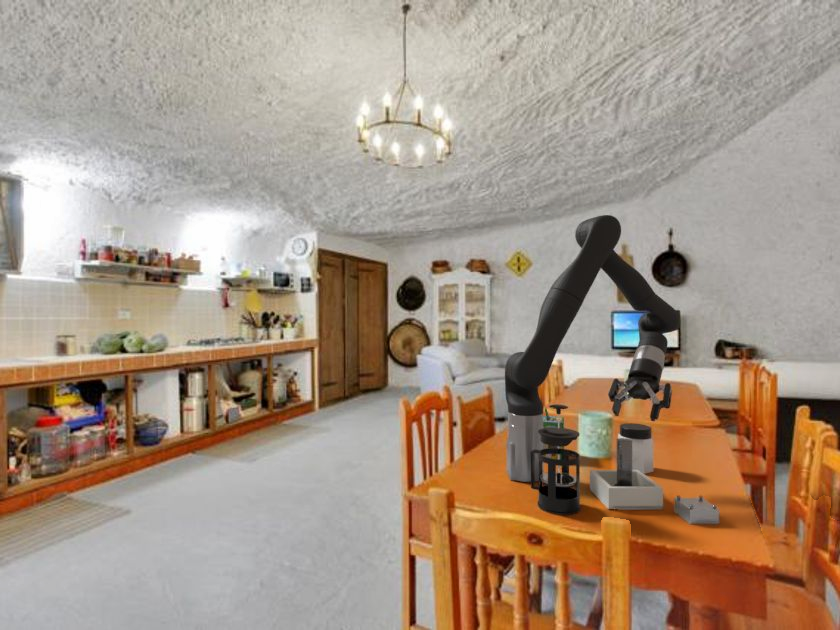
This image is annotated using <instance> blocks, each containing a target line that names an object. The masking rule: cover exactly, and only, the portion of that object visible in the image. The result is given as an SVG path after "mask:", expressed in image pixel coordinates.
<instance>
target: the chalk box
mask: <svg viewBox="0 0 840 630" xmlns="http://www.w3.org/2000/svg"><path fill="white" fill-rule="evenodd" d="M544 413H545V415H543V428H558V416H552V415H550V414H549V412H548V409H547V407H546V406H544ZM559 428H565V418H564V416H563V417H562V416H559ZM546 448H558V446H551V445H547V444H544V443H543V449H546ZM560 448H561V449H565V446H564V447H560ZM543 456H544V457H547V458H552V459H558V454H545V455H543ZM560 460H562V454H560Z"/></svg>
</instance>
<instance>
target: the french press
mask: <svg viewBox="0 0 840 630" xmlns="http://www.w3.org/2000/svg"><path fill="white" fill-rule="evenodd" d="M548 407H549V408H550V409H555V410H556V415H557V417H558V428H543V429H540V430H539V431H538V433H539V434H540V441H541V442H542V443H544V444H547V445H551V446H558V448H546V449H542V450H535V449H534V450H532V451H531V482H530V488H531V490H535V491H538V500H537V506H538V508H539V509H540V510H542V511H544V512H545V513H549V514H552V515H557V516H558V515H559V516H572V515H577V514H579V512H580V511H581V510H582V506H581V504H580V502H581V497H580V496H581V495H580V493H581V492H580V487H581V485H580V477H581V476H580V473H581V472H580V466H581V465H580V459H581V458H580V453H578V452H577V451H574V450H571V449H567V448H565V447H567V446H569V445H570V444H571V443H572V442H573V441H576V440H577V439H578V438H579V437H580V432H579V431H577V430H574V429H570V428H566V427H564V428H559V417H560V415H561V414H562V413H561V412H562V410H566V409H569V406H568V405H565V404H559V403H558V404H555V403H554V404H550V405H548ZM560 447H564V449H561V448H560ZM535 453H538V458H539V481H538V485H536V482H535ZM545 454H558V459H552V458H547V457H544V456H542V455H545ZM560 454H562V460H560ZM570 457H572V458H571V459H570ZM542 462H543V464H547V472H543V474H542ZM570 466H575V468H576V469H575V471H576V472H575V476H574V475H573V474H570ZM556 467H557V468H556ZM560 468H561V471H560ZM556 469H557V470H556ZM543 484H544V485H543ZM573 487H576V489H575V488H573Z"/></svg>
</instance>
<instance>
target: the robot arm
mask: <svg viewBox="0 0 840 630" xmlns="http://www.w3.org/2000/svg"><path fill="white" fill-rule="evenodd" d="M621 235H622V226H621V223H620V221H619V219H618V218H617V217H616V216H613V215H611V214H603V215H597V216H595V217H591V218H588V219H585V220H583V221H581V222H580V223H579V224H578V225H577V227H576V229H575V236H574V237H575V240H576V243H577V244H578V246H579V247H580V248H581V249H580V251H579V253H578V254H577V256H576V257H575V259H574V260H573V261H572V262H571V263H570V264H569V265H568V266H567V267H566V268H565V269H564V271H563V272H562V273H560V275H559V276H558V277H557V278H556V280H555V281H554V282H553V283H552V285H551V286H550V289H549V291H548V292H547V294H546V296H545V298H544V300H543V302H542V304H541V307H540V311H539V316H538V321H537V327H536V330H535V332H534V335H533V337H532V338H531V340H530V342H529V343H528V346H527V347H526V349H525V350H524V351H518V352H514V353H513V354H511V355H509V357H508V359H507V360H506V363H505V366H504V367H505V368H504V389H505V401H506V404H507V438H506V474H507V476H508V478H509V480H511V481H518V482H523V483H531V451H532V450H534V449H535V450H542V449H543V443H542V442H541V441H540V434H539V433H538V431H539V430H540V429H543V416H544V403H543V402H542V400H541V397H540V395H539V387H540V386H541V385H542V384H543V383H544V382H545V381H546V379H547V377H548V375H549V372H550V369H551V367H552V364H553V362H554V360H555V357H556V354H557V352H558V350H559V348H560V346H561V343H562V342H563V340H564V339H565V337H566V335H567V333H568V332H569V329H570V327H571V325H572V324H573V322H574V320H575V319H576V316H577V315H578V313H579V311H580V309H581V307H582V306H583V303H584V301H585V299H586V297H587V296H588V295H587V294H588V293H589V291H590V289H591V288H592V286H593V284H594V282H595V280H596V278H597V275H598V274H599V272H600V271H601V270H602V272H603V271H604V273H605V274H606V275H607V277H609V278H610V280H611V281H612V282H613V283H614V285H615V286H616V287H617V288H618V290H619V291H620V293H622V296H623V297H624V298H625V299H626V300H627V302H628V304H629V305H630V306H631V308H632V309H633V310H635V311H636V312H637V311H638V312H645V313H642V315H641V316H640V317H639V319H638V322H637V326H638V334H639V335H638V336H639V340H638V344H637V347H636V350H635V353H634V355H633V357H632V358H633V359H632V361H631V364H630V367H629V372H628V376H627V379H626V380H625V381H621V380H619V378H614V379H613V380H612V384H611V387H610V389H609V391H608V393H607V395H608V398H609V401H610V402H611V403H612V402H613V404H612V407H611V410H612V413H613V414H614V416H615V417H619V416H620V413H621V408H622V406H623V405H622V404H623V403H625V402H628V401H630V400H631V399H636V400H639V399H640V400H644V401H647V400H649V401H650V402H651V404H652V406H651V410H650V414H649V419H650V421H651V422H655V421H656V420H658V419H659V418H660V417H659V416H660V412H661V409H670V408H671V403H672V396H673V389H672V386H671V383H669V382H666V383H665V384H660V383H661V378H662V374H663V370H664V369H665V357H666V354H667V349H668V345H669V342H668V339H667V337H666V336H665V335H664V334H668V333H673V332H675V331H677V330H678V329H679V328H680V326H681V317H680V315H679V313H678V312H677V310H676V309H675V308H674V307H673V306H672V305H670V304H669V303H668V302H667V301H666V300H664V299H663V298H662V297H660V296H659V294H657V293H656V292H655V291H654V289H653V288H652V286H651V285H650V284H649V282H648V281H647V280H646V278H645V277H644V276H643V274H641V273H640V272H639V271H638V270H637V269H635V268H634V267H633V266H632V265H630V264H629V263H627V261H626V260H624V259H623V258H622V257H621V256H620V255H619V254H618V253H617V252H616V251H615V250H614V249H615V248H616V246H617V245H618V243H619V241H620V239H621ZM623 387H624V388H623ZM622 388H623V389H622ZM660 391H661V393H662V394H663V396H662V400H661V399H659V398H658V396H657V395H656V394H657V393H659V392H660ZM542 456H543V455H542ZM544 471H545V470H544V462H542V474H543V473H545V472H544ZM537 482H539V458H538V453H535V483H537Z"/></svg>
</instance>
